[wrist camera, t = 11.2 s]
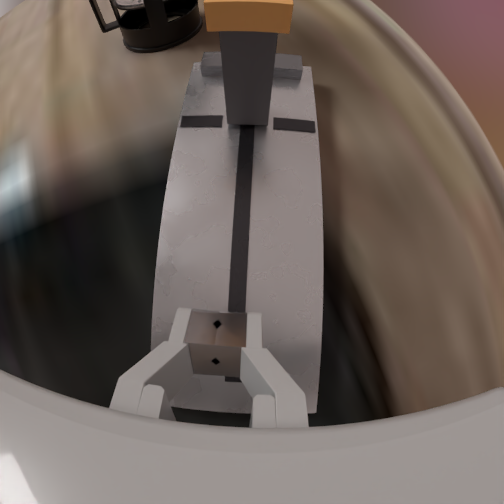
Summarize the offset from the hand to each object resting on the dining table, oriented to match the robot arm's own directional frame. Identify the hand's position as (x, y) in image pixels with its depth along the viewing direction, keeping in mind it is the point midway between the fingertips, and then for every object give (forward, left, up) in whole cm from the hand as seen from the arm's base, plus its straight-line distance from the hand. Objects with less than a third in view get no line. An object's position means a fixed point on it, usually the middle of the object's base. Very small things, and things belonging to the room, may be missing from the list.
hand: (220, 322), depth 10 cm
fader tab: (+11, +9, -6) cm, 15 cm away
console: (+6, +4, -8) cm, 11 cm away
